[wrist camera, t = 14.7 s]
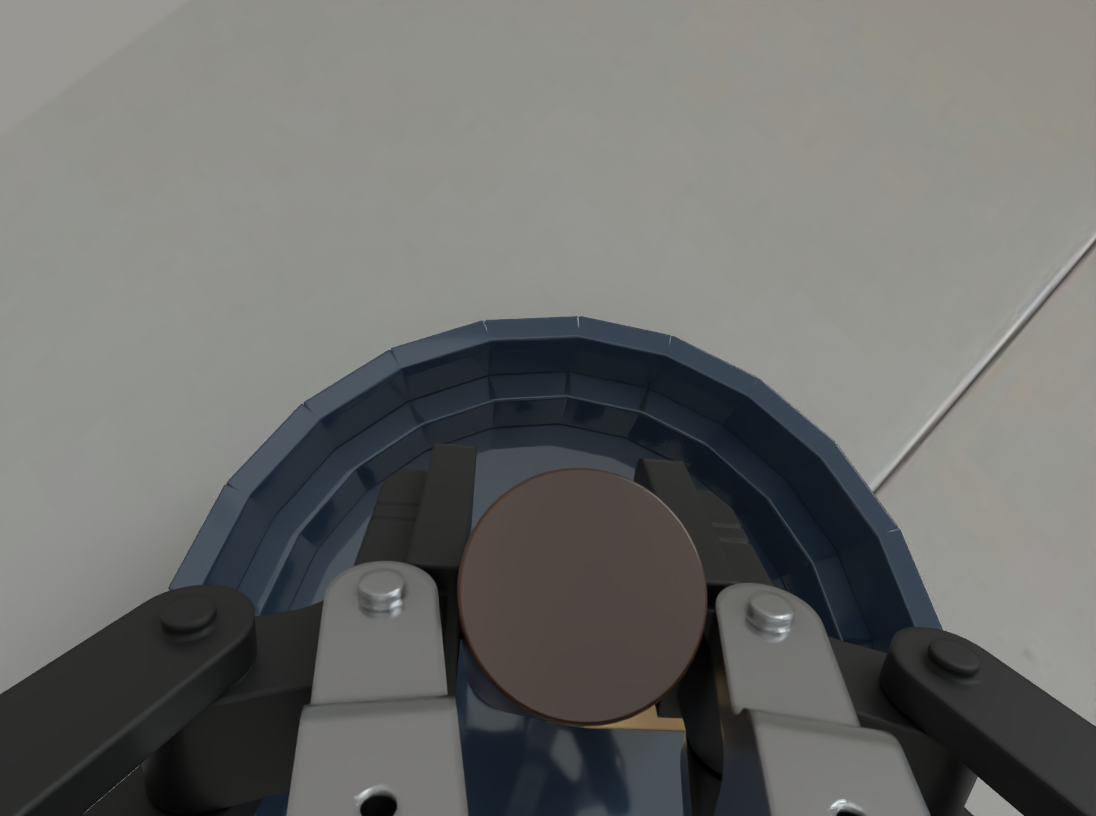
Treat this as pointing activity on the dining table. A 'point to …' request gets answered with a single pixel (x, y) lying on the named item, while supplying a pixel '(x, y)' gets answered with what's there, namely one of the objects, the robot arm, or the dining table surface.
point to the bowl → (541, 446)
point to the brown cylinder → (579, 599)
